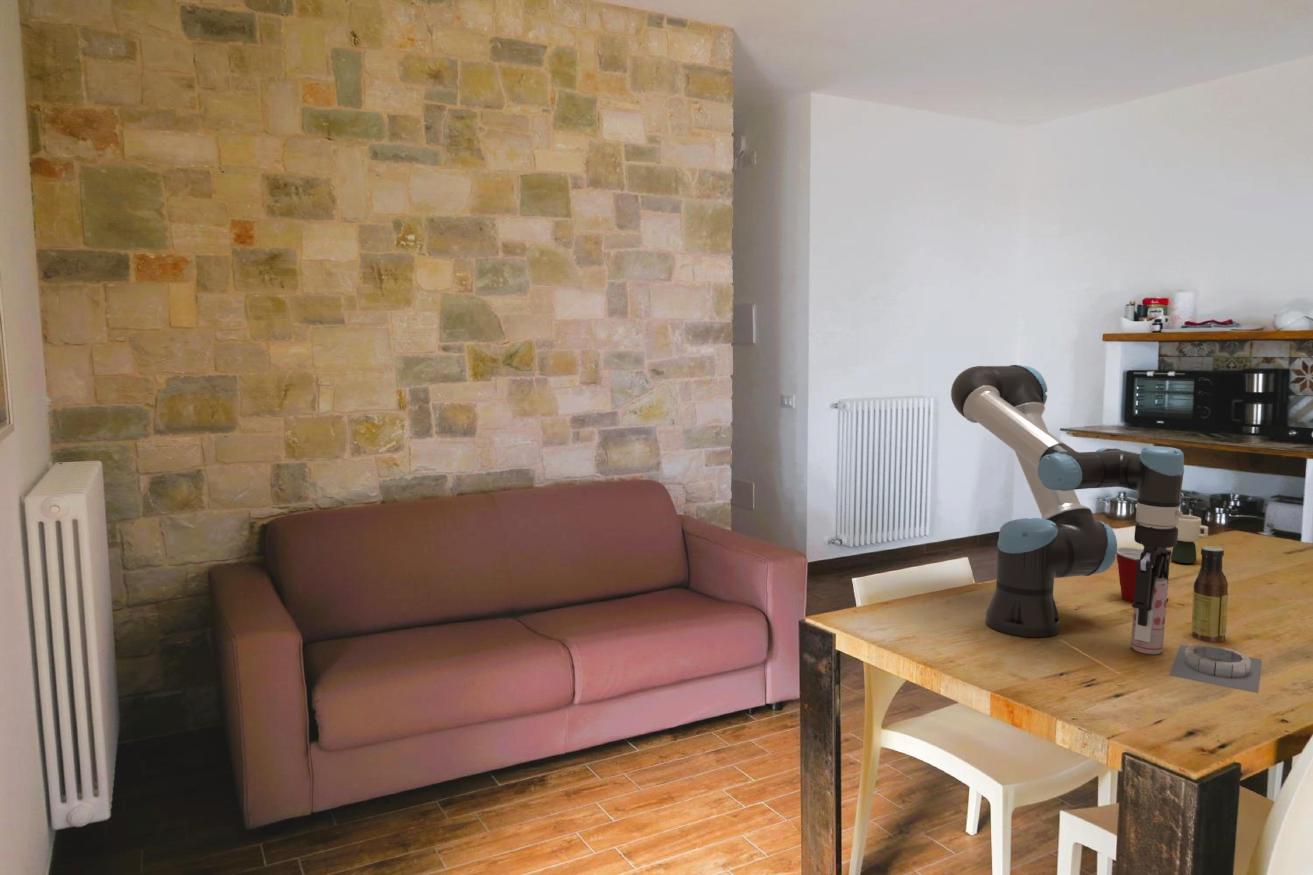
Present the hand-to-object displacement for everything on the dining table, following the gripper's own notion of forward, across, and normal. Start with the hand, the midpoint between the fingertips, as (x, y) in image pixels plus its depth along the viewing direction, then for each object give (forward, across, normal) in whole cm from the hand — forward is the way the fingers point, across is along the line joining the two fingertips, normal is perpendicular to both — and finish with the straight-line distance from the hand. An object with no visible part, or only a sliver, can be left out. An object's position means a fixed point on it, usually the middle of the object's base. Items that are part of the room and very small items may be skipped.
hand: (1147, 635), depth 181 cm
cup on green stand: (+4, +83, +16) cm, 85 cm away
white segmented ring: (+3, 0, -12) cm, 13 cm away
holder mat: (+3, 0, -12) cm, 13 cm away
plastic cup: (+4, +36, +13) cm, 39 cm away
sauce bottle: (+4, +18, -6) cm, 19 cm away
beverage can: (+3, 0, 0) cm, 3 cm away
